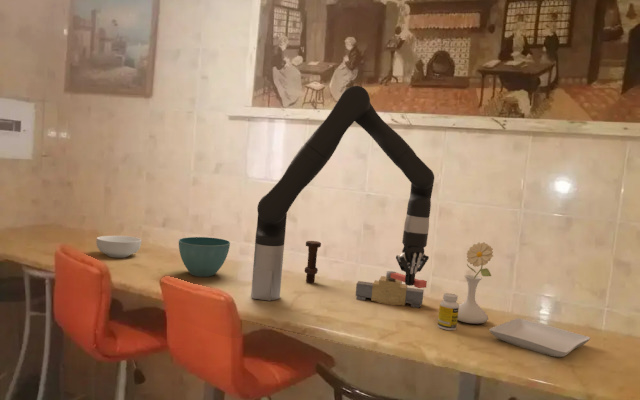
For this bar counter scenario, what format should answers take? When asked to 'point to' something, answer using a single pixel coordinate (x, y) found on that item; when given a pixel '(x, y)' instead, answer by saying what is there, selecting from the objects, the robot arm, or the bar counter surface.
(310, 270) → the bolt
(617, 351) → the bar counter surface
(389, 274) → the lever
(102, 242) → the cereal bowl
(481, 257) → the flower in vase
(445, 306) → the supplement bottle
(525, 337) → the salad plate
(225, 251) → the teal bowl
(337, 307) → the bar counter surface
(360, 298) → the pipe and valve
